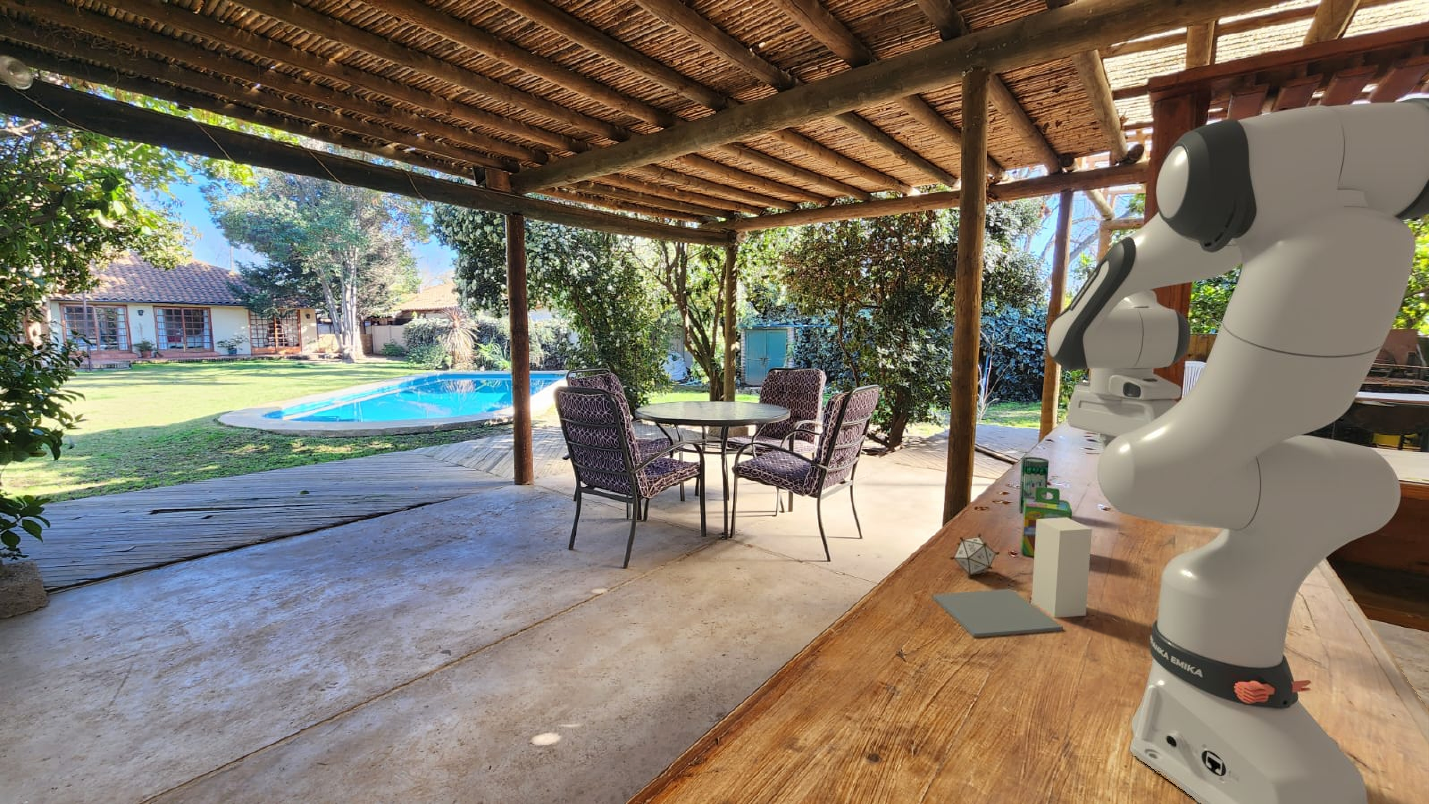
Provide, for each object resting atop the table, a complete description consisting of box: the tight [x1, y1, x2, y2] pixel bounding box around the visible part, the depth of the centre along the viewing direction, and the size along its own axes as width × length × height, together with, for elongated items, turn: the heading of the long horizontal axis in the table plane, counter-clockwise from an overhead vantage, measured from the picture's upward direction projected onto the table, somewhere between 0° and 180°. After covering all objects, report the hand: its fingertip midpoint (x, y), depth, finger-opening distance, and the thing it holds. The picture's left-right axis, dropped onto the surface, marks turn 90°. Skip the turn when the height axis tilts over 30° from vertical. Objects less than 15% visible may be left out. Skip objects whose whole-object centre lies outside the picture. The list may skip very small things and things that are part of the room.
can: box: [1018, 456, 1049, 514], centre depth 152 cm, size 6×6×15 cm
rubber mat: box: [931, 588, 1064, 638], centre depth 101 cm, size 14×16×1 cm
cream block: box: [1031, 517, 1093, 618], centre depth 101 cm, size 6×6×16 cm
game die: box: [948, 533, 1001, 579], centre depth 116 cm, size 9×8×10 cm
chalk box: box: [1020, 487, 1073, 557], centre depth 126 cm, size 9×9×15 cm
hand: (1114, 461), depth 99 cm, fingers closed
